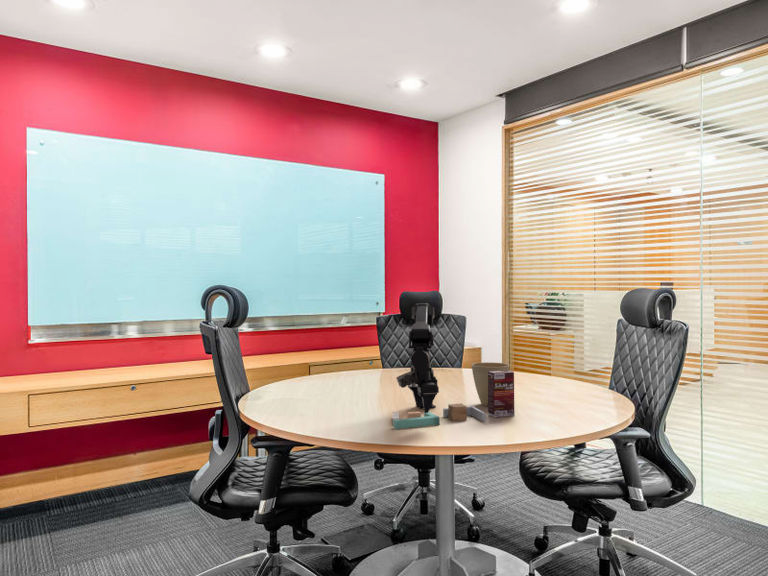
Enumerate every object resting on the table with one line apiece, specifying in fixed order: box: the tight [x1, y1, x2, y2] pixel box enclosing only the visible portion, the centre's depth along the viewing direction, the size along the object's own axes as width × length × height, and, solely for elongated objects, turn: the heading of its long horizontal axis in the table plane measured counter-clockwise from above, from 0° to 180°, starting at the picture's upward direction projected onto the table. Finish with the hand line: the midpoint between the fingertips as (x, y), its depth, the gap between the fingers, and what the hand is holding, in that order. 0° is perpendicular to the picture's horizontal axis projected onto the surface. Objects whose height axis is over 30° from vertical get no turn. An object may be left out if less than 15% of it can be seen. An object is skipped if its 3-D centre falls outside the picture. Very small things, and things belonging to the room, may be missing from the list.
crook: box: [392, 411, 441, 430], centre depth 187 cm, size 9×16×3 cm, turn 108°
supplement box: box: [487, 370, 515, 418], centre depth 197 cm, size 9×5×16 cm, turn 106°
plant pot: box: [471, 362, 510, 407], centre depth 215 cm, size 15×15×16 cm
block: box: [447, 402, 468, 422], centre depth 192 cm, size 5×5×5 cm
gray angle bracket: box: [442, 405, 486, 422], centre depth 192 cm, size 12×12×3 cm
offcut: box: [406, 411, 422, 419], centre depth 193 cm, size 2×4×2 cm, turn 103°
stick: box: [392, 411, 400, 421], centre depth 191 cm, size 2×10×2 cm, turn 179°
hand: (422, 409), depth 184 cm, fingers open, 9 cm apart
